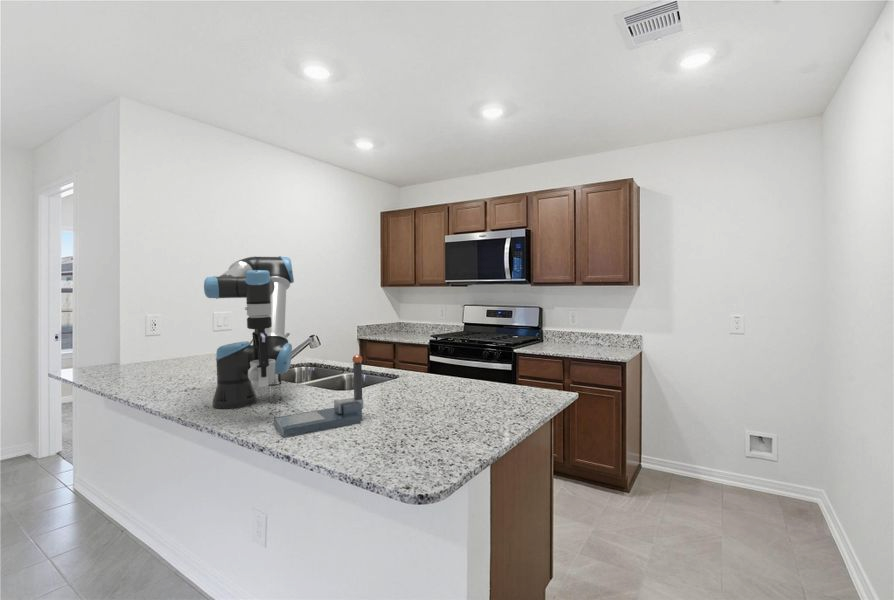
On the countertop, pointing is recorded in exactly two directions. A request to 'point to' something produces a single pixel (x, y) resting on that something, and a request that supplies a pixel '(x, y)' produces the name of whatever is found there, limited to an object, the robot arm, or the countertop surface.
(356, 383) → the lever
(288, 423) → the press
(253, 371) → the cup
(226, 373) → the robot arm
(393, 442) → the countertop surface
